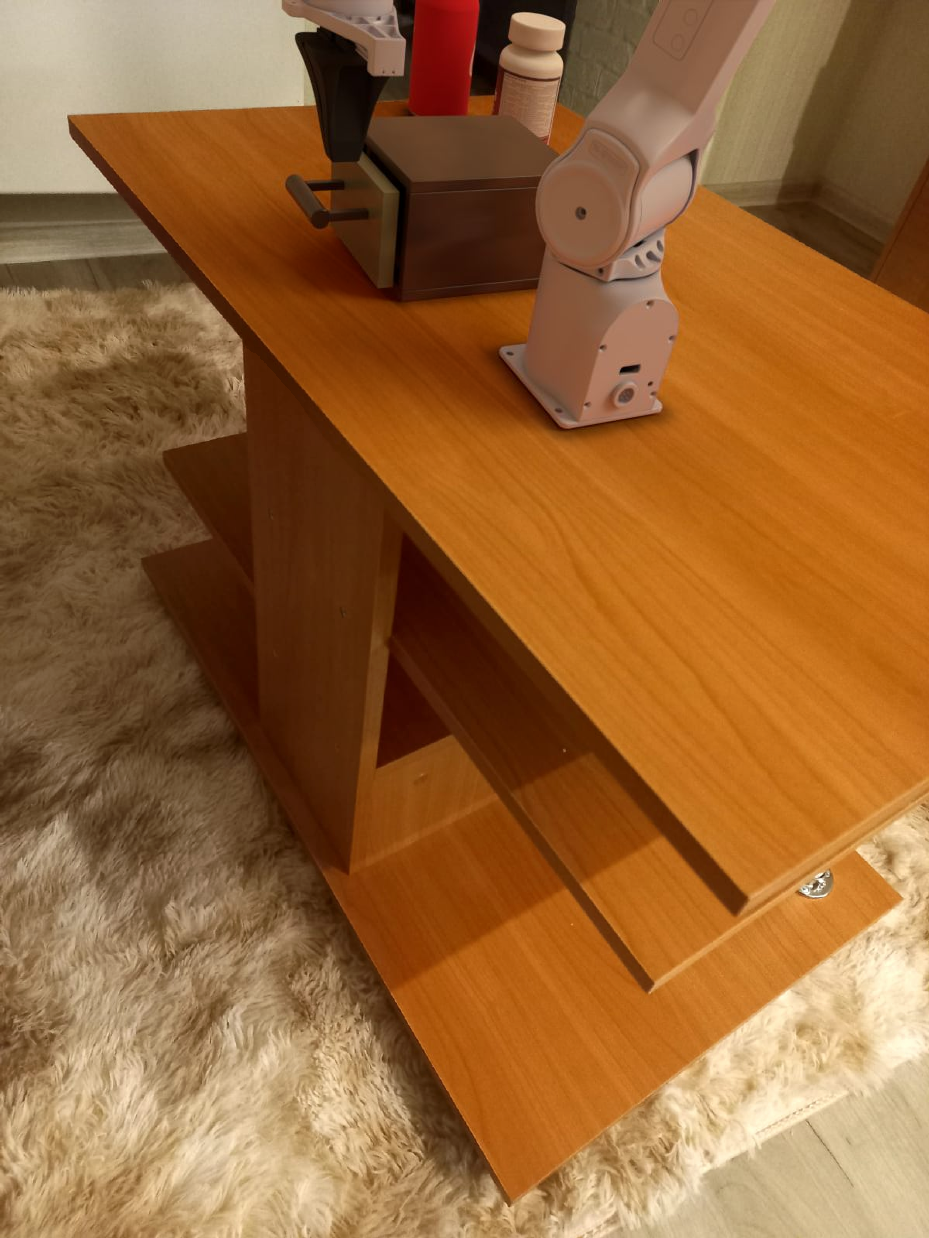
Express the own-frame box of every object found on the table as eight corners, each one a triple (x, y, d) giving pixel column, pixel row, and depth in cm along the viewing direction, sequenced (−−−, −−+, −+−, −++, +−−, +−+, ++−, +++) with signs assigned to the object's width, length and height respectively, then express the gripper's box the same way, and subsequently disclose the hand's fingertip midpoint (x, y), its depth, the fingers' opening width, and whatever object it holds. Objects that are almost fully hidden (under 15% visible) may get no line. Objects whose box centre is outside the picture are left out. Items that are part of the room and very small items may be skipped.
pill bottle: (498, 134, 91) (517, 6, 83) (554, 149, 90) (578, 21, 82) (478, 151, 87) (496, 18, 79) (536, 168, 86) (560, 35, 78)
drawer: (321, 294, 62) (322, 196, 57) (277, 229, 68) (274, 135, 63) (526, 274, 68) (543, 184, 63) (470, 216, 74) (481, 130, 69)
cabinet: (401, 302, 64) (411, 181, 58) (347, 232, 71) (351, 117, 65) (558, 286, 69) (583, 173, 63) (494, 222, 76) (511, 114, 70)
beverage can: (468, 114, 94) (484, -20, 85) (463, 133, 90) (479, -6, 81) (411, 104, 94) (422, -32, 85) (403, 123, 90) (413, -18, 81)
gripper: (247, -120, 54) (256, 120, 64) (325, -60, 45) (321, 205, 55) (355, -111, 56) (348, 118, 66) (447, -52, 48) (423, 200, 58)
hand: (342, 158), depth 61 cm, fingers closed
